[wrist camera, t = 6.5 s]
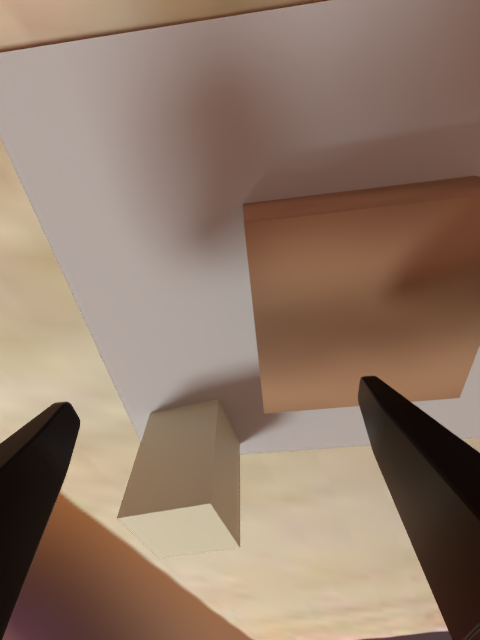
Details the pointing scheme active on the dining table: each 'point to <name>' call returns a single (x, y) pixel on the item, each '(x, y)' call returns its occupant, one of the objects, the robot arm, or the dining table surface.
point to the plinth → (365, 292)
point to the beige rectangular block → (185, 483)
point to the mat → (231, 179)
